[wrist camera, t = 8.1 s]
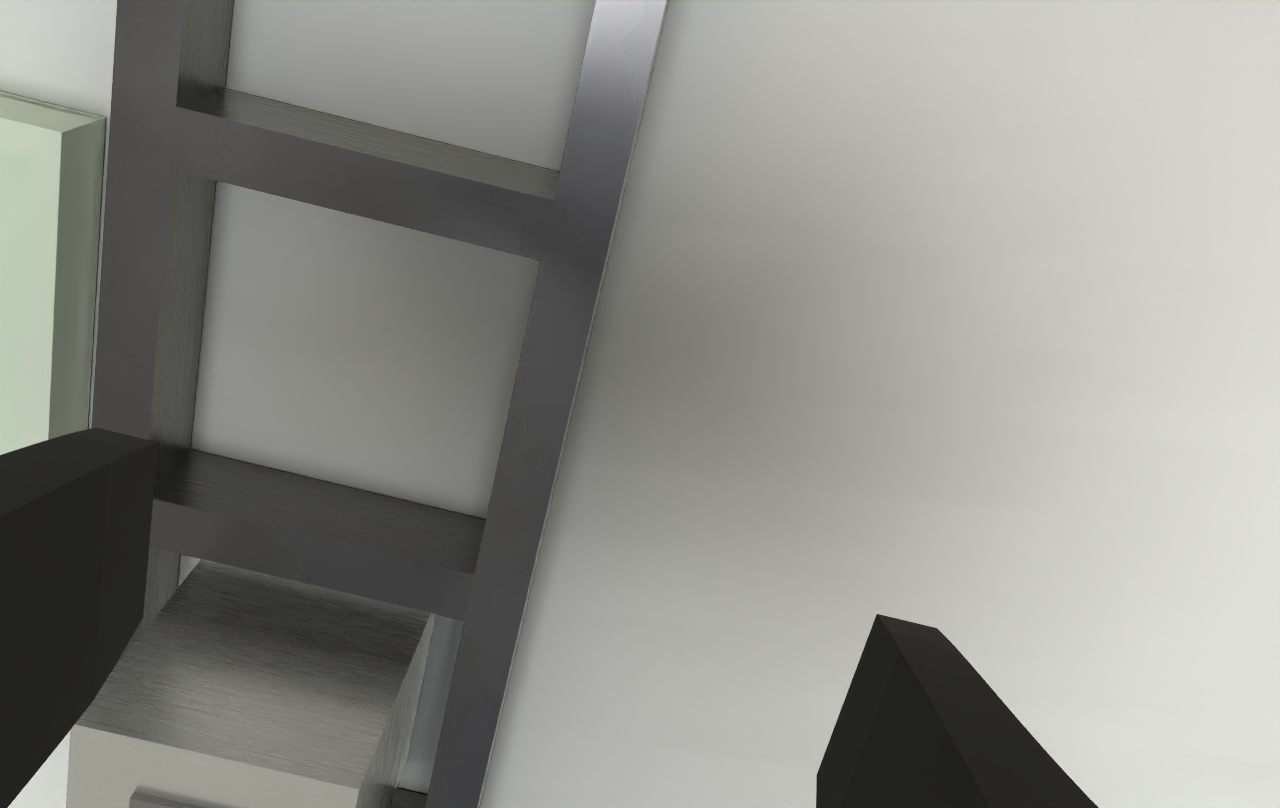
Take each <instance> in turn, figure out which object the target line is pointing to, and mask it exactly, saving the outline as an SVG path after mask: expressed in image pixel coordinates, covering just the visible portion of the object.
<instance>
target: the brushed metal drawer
mask: <svg viewBox="0 0 1280 808" xmlns="http://www.w3.org/2000/svg"><path fill="white" fill-rule="evenodd" d="M435 617H436V614H433V613H429V612H425V611H420V610H416V609H412V608H408V607H403V606H399V605H395V604H391V603H386V602H382V601H378V600H374V599H369V598H365V597H361V596H357V595H352V594H348V593H344V592H340V591H335V590H331V589H327V588H323V587H318V586H314V585H310V584H306V583H302V582H297V581H293V580H289V579H285V578H280V577H276V576H272V575H268V574H263V573H259V572H255V571H251V570H246V569H242V568H238V567H234V566H229V565H225V564H221V563H217V562H212V561H208V560H204V559H201V560H200V561H199V563H198V564H197V565H196V566H195V568H194V569H193V570H192V571H191V573H190V574H189V575H188V576H187V578H186V579H185V580H184V581H183V583H182V584H181V585H180V587H179V588H178V589H177V590H176V592H175V593H174V594H173V595H172V597H171V598H170V599H169V600H168V602H167V603H166V604H165V605H164V607H163V608H162V609H161V611H160V612H159V613H158V614H157V616H156V617H155V618H154V619H153V621H152V622H151V623H150V624H149V626H148V627H147V628H146V629H145V631H144V632H143V633H142V635H141V636H140V637H139V638H138V640H137V641H136V642H135V643H134V645H133V646H132V647H131V648H130V650H129V651H128V652H127V653H126V655H125V656H124V657H123V659H122V660H121V661H120V662H119V664H118V665H117V666H116V667H115V669H114V670H113V671H112V672H111V674H110V675H109V676H108V678H107V680H106V681H105V683H104V684H103V686H102V688H101V689H100V691H99V692H98V694H97V696H96V697H95V699H94V700H93V702H92V703H91V704H90V706H89V707H88V708H87V709H86V711H85V712H84V713H83V715H82V716H81V717H80V718H79V720H78V721H77V722H76V723H75V725H74V726H73V727H72V728H71V732H70V749H69V767H68V784H67V801H66V808H390V806H391V803H392V800H393V798H394V795H395V792H396V789H397V787H398V784H399V781H400V778H401V776H402V773H403V770H404V767H405V765H406V762H407V758H408V753H409V748H410V743H411V738H412V733H413V728H414V723H415V718H416V713H417V707H418V702H419V697H420V692H421V687H422V682H423V677H424V672H425V667H426V662H427V657H428V652H429V647H430V642H431V637H432V632H433V627H434V622H435Z"/></svg>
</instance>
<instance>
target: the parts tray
mask: <svg viewBox="0 0 1280 808" xmlns="http://www.w3.org/2000/svg"><path fill="white" fill-rule="evenodd" d="M105 121H106V117H102V116H98V115H94V114H90V113H86V112H82V111H78V110H74V109H70V108H66V107H62V106H58V105H54V104H50V103H46V102H42V101H37V100H33V99H29V98H25V97H21V96H17V95H13V94H9V93H5V92H1V91H0V455H2V454H5V453H8V452H11V451H14V450H17V449H20V448H24V447H27V446H30V445H33V444H36V443H39V442H43V441H46V440H49V439H52V438H56V437H59V436H63V435H66V434H70V433H74V432H78V431H82V430H87V429H88V414H89V396H90V379H91V362H92V345H93V328H94V310H95V293H96V276H97V259H98V242H99V224H100V207H101V190H102V173H103V156H104V138H105Z"/></svg>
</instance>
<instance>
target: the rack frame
mask: <svg viewBox="0 0 1280 808" xmlns="http://www.w3.org/2000/svg"><path fill="white" fill-rule="evenodd" d="M233 2H234V0H117V16H116V33H115V49H114V66H113V83H112V100H111V116H110V133H109V150H108V167H107V183H106V200H105V217H104V234H103V250H102V267H101V284H100V301H99V317H98V334H97V351H96V368H95V384H94V401H93V418H92V428H100V429H105V430H109V431H113V432H117V433H121V434H126V435H130V436H134V437H138V438H142V439H146V440H151V441H155V442H158V448H157V460H156V472H155V484H154V496H153V508H152V519H151V531H150V543H149V555H148V567H147V579H146V590H145V602H144V614H143V619H142V621H141V622H140V624H139V626H138V627H137V629H136V631H135V633H134V634H133V636H132V638H131V639H130V641H129V643H128V645H127V646H126V648H125V650H124V652H123V653H122V655H121V657H120V658H119V660H118V662H117V664H116V665H115V667H116V666H117V665H118V664H119V662H120V661H121V660H122V659H123V657H124V656H125V655H126V653H127V652H128V651H129V650H130V648H131V647H132V646H133V645H134V643H135V642H136V641H137V640H138V638H139V637H140V636H141V635H142V633H143V632H144V631H145V629H146V628H147V627H148V626H149V624H150V623H151V622H152V621H153V619H154V618H155V617H156V616H157V614H158V613H159V612H160V611H161V609H162V608H163V607H164V605H165V604H166V603H167V602H168V600H169V599H170V598H171V597H172V595H173V594H174V593H175V592H176V590H177V581H178V571H179V560H180V554H183V555H187V556H191V557H195V558H200V559H204V560H208V561H212V562H217V563H221V564H225V565H229V566H234V567H238V568H242V569H246V570H251V571H255V572H259V573H263V574H268V575H272V576H276V577H280V578H285V579H289V580H293V581H297V582H302V583H306V584H310V585H314V586H318V587H323V588H327V589H331V590H335V591H340V592H344V593H348V594H352V595H357V596H361V597H365V598H369V599H374V600H378V601H382V602H386V603H391V604H395V605H399V606H403V607H408V608H412V609H416V610H420V611H425V612H429V613H433V614H437V615H442V616H446V617H450V618H454V619H458V620H463V621H464V626H463V631H462V636H461V640H460V645H459V650H458V655H457V659H456V664H455V669H454V673H453V678H452V683H451V688H450V692H449V697H448V702H447V706H446V711H445V716H444V721H443V725H442V730H441V735H440V739H439V744H438V749H437V754H436V758H435V763H434V768H433V773H432V777H431V782H430V787H429V791H428V795H424V794H420V793H415V792H411V791H407V790H402V789H398V788H397V789H396V792H395V795H394V798H393V800H392V803H391V806H390V808H479V807H480V803H481V799H482V795H483V790H484V786H485V782H486V778H487V773H488V769H489V765H490V761H491V756H492V752H493V748H494V744H495V739H496V735H497V731H498V727H499V722H500V718H501V714H502V709H503V705H504V701H505V697H506V692H507V688H508V684H509V680H510V675H511V671H512V667H513V663H514V658H515V654H516V650H517V646H518V641H519V637H520V633H521V629H522V624H523V620H524V616H525V612H526V607H527V603H528V599H529V595H530V590H531V586H532V582H533V578H534V573H535V569H536V565H537V561H538V556H539V552H540V548H541V544H542V539H543V535H544V531H545V527H546V522H547V518H548V514H549V509H550V505H551V501H552V497H553V492H554V488H555V484H556V480H557V475H558V471H559V467H560V463H561V458H562V454H563V450H564V446H565V441H566V437H567V433H568V429H569V424H570V420H571V416H572V412H573V407H574V403H575V399H576V395H577V390H578V386H579V382H580V378H581V373H582V369H583V365H584V361H585V356H586V352H587V348H588V344H589V339H590V335H591V331H592V327H593V322H594V318H595V314H596V310H597V305H598V301H599V297H600V292H601V288H602V284H603V280H604V275H605V271H606V267H607V263H608V258H609V254H610V250H611V246H612V241H613V237H614V233H615V229H616V224H617V220H618V216H619V212H620V207H621V203H622V199H623V195H624V190H625V186H626V182H627V178H628V173H629V169H630V165H631V161H632V156H633V152H634V148H635V144H636V139H637V135H638V131H639V127H640V122H641V118H642V114H643V110H644V105H645V101H646V97H647V93H648V88H649V84H650V80H651V75H652V71H653V67H654V63H655V58H656V54H657V50H658V46H659V41H660V37H661V33H662V29H663V24H664V20H665V16H666V12H667V7H668V3H669V0H596V3H595V8H594V12H593V17H592V22H591V27H590V31H589V36H588V41H587V45H586V50H585V55H584V60H583V64H582V69H581V74H580V78H579V83H578V88H577V93H576V97H575V102H574V107H573V111H572V116H571V121H570V126H569V130H568V135H567V140H566V145H565V149H564V154H563V159H562V163H561V168H560V172H558V171H554V170H550V169H546V168H542V167H538V166H534V165H530V164H526V163H522V162H518V161H514V160H510V159H506V158H502V157H498V156H494V155H490V154H486V153H482V152H478V151H474V150H470V149H466V148H462V147H458V146H454V145H450V144H446V143H442V142H438V141H434V140H430V139H426V138H422V137H418V136H414V135H410V134H406V133H402V132H398V131H394V130H390V129H386V128H382V127H378V126H374V125H370V124H366V123H362V122H358V121H354V120H350V119H346V118H342V117H338V116H334V115H330V114H326V113H322V112H318V111H314V110H310V109H306V108H302V107H298V106H294V105H290V104H286V103H282V102H278V101H274V100H270V99H266V98H262V97H258V96H254V95H250V94H246V93H242V92H238V91H234V90H230V89H226V88H225V84H226V74H227V64H228V53H229V43H230V33H231V22H232V12H233ZM216 180H217V181H221V182H225V183H229V184H233V185H237V186H241V187H245V188H249V189H253V190H257V191H261V192H265V193H269V194H273V195H277V196H282V197H286V198H290V199H294V200H298V201H302V202H306V203H310V204H314V205H318V206H322V207H326V208H330V209H334V210H338V211H342V212H346V213H350V214H354V215H358V216H363V217H367V218H371V219H375V220H379V221H383V222H387V223H391V224H395V225H399V226H403V227H407V228H411V229H415V230H419V231H423V232H427V233H431V234H435V235H439V236H443V237H448V238H452V239H456V240H460V241H464V242H468V243H472V244H476V245H480V246H484V247H488V248H492V249H496V250H500V251H504V252H508V253H512V254H516V255H520V256H524V257H529V258H533V259H537V260H541V263H540V267H539V272H538V277H537V281H536V286H535V291H534V296H533V300H532V305H531V310H530V315H529V319H528V324H527V329H526V333H525V338H524V343H523V348H522V352H521V357H520V362H519V366H518V371H517V376H516V381H515V385H514V390H513V395H512V400H511V404H510V409H509V414H508V418H507V423H506V428H505V433H504V437H503V442H502V447H501V451H500V456H499V461H498V466H497V470H496V475H495V480H494V485H493V489H492V494H491V499H490V503H489V508H488V513H487V518H486V520H483V519H479V518H475V517H471V516H467V515H463V514H458V513H454V512H450V511H446V510H442V509H437V508H433V507H429V506H425V505H421V504H417V503H412V502H408V501H404V500H400V499H396V498H391V497H387V496H383V495H379V494H375V493H370V492H366V491H362V490H358V489H354V488H350V487H345V486H341V485H337V484H333V483H329V482H324V481H320V480H316V479H312V478H308V477H303V476H299V475H295V474H291V473H287V472H283V471H278V470H274V469H270V468H266V467H262V466H257V465H253V464H249V463H245V462H241V461H236V460H232V459H228V458H224V457H220V456H216V455H211V454H207V453H203V452H199V451H195V450H190V447H191V436H192V426H193V416H194V405H195V395H196V385H197V374H198V364H199V353H200V343H201V333H202V322H203V312H204V302H205V291H206V281H207V271H208V260H209V250H210V240H211V229H212V219H213V209H214V198H215V188H216ZM115 667H114V668H113V670H114V669H115ZM113 670H112V671H113ZM110 674H111V673H110Z"/></svg>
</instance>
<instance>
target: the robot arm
mask: <svg viewBox="0 0 1280 808" xmlns="http://www.w3.org/2000/svg"><path fill="white" fill-rule="evenodd" d="M157 448H158V442H155V441H151V440H146V439H142V438H138V437H134V436H130V435H126V434H121V433H117V432H113V431H109V430H105V429H100V428H91V429H87V430H82V431H78V432H74V433H70V434H66V435H63V436H59V437H56V438H52V439H49V440H46V441H43V442H39V443H36V444H33V445H30V446H27V447H24V448H20V449H17V450H14V451H11V452H8V453H5V454H2V455H0V808H7V807H8V806H9V805H10V804H11V803H12V801H13V800H14V799H15V798H16V796H17V795H18V794H19V793H20V792H21V790H22V789H23V788H24V787H25V785H26V784H27V783H28V782H29V781H30V779H31V778H32V777H33V776H34V774H35V773H36V772H37V771H38V770H39V768H40V767H41V766H42V765H43V763H44V762H45V761H46V760H47V758H48V757H49V756H50V755H51V753H52V752H53V751H54V750H55V748H56V747H57V746H58V745H59V743H60V742H61V741H62V740H63V738H64V737H65V736H66V735H67V733H68V732H69V731H70V730H71V728H72V727H73V726H74V725H75V723H76V722H77V721H78V720H79V718H80V717H81V716H82V715H83V713H84V712H85V711H86V709H87V708H88V707H89V706H90V704H91V703H92V702H93V700H94V699H95V697H96V696H97V694H98V692H99V691H100V689H101V688H102V686H103V684H104V683H105V681H106V680H107V678H108V676H109V675H110V673H111V672H112V670H113V668H114V667H115V665H116V664H117V662H118V660H119V658H120V657H121V655H122V653H123V652H124V650H125V648H126V646H127V645H128V643H129V641H130V639H131V638H132V636H133V634H134V633H135V631H136V629H137V627H138V626H139V624H140V622H141V621H142V619H143V614H144V602H145V590H146V579H147V567H148V555H149V543H150V531H151V519H152V508H153V496H154V484H155V472H156V460H157ZM816 808H1098V807H1097V806H1096V805H1095V804H1094V803H1093V802H1092V801H1091V800H1090V799H1089V798H1088V797H1087V795H1086V794H1085V793H1084V792H1083V791H1082V790H1081V789H1080V788H1079V787H1078V786H1077V785H1076V784H1075V783H1074V782H1073V780H1072V779H1071V778H1070V777H1069V776H1068V775H1067V774H1066V773H1065V772H1064V771H1063V770H1062V769H1061V767H1060V766H1059V765H1058V764H1057V763H1056V762H1055V761H1054V760H1053V759H1052V758H1051V756H1050V755H1049V754H1048V753H1047V752H1046V751H1045V750H1044V749H1043V747H1042V746H1041V745H1040V744H1039V743H1038V742H1037V741H1036V740H1035V738H1034V737H1033V736H1032V735H1031V734H1030V733H1029V732H1028V730H1027V729H1026V728H1025V727H1024V726H1023V725H1022V724H1021V722H1020V721H1019V720H1018V719H1017V718H1016V717H1015V715H1014V714H1013V713H1012V712H1011V711H1010V710H1009V709H1008V707H1007V706H1006V705H1005V704H1004V703H1003V702H1002V700H1001V699H1000V698H999V697H998V696H997V695H996V693H995V692H994V691H993V690H992V689H991V688H990V686H989V685H988V684H987V683H986V682H985V680H984V679H983V678H982V677H981V676H980V675H979V674H978V672H977V671H976V670H975V669H974V668H973V667H972V665H971V664H970V663H969V662H968V661H967V660H966V659H965V657H964V656H963V655H962V654H961V653H960V652H959V651H958V650H957V648H956V647H955V646H954V645H953V644H952V643H951V642H950V641H949V640H948V639H947V638H946V637H945V636H944V635H943V634H942V633H941V632H940V631H939V630H938V629H937V628H934V627H929V626H925V625H921V624H917V623H913V622H908V621H904V620H900V619H896V618H892V617H887V616H883V615H879V614H877V615H876V618H875V621H874V623H873V626H872V629H871V631H870V634H869V637H868V639H867V642H866V645H865V647H864V650H863V653H862V655H861V658H860V661H859V663H858V666H857V669H856V671H855V674H854V677H853V679H852V682H851V685H850V687H849V690H848V693H847V696H846V698H845V701H844V704H843V706H842V709H841V712H840V714H839V717H838V720H837V722H836V725H835V728H834V730H833V733H832V736H831V738H830V741H829V744H828V746H827V749H826V752H825V754H824V757H823V760H822V762H821V765H820V768H819V770H818V773H817V797H816Z"/></svg>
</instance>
